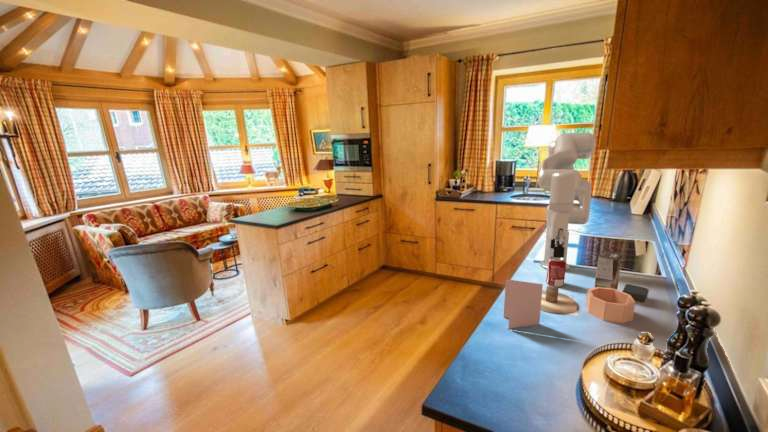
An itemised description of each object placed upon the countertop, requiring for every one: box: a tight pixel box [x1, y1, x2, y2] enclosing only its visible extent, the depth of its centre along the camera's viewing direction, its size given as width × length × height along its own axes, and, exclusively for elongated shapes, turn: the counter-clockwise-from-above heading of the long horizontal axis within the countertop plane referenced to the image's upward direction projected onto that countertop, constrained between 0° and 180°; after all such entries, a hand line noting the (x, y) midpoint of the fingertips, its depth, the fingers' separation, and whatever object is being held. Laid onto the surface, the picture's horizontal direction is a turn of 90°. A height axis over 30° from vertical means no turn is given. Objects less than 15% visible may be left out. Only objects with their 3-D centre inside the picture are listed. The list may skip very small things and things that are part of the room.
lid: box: [541, 285, 578, 315], centre depth 124 cm, size 17×17×6 cm
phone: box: [621, 283, 649, 303], centre depth 131 cm, size 7×1×15 cm
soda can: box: [545, 256, 567, 288], centre depth 139 cm, size 7×7×12 cm
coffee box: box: [593, 250, 623, 290], centre depth 130 cm, size 9×6×16 cm
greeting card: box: [503, 279, 544, 331], centre depth 109 cm, size 11×7×15 cm, turn 66°
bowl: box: [585, 287, 636, 324], centre depth 116 cm, size 13×13×7 cm
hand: (556, 252), depth 120 cm, fingers open, 9 cm apart
